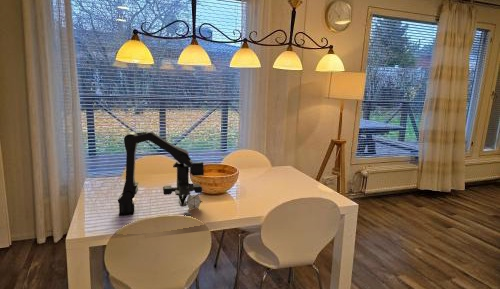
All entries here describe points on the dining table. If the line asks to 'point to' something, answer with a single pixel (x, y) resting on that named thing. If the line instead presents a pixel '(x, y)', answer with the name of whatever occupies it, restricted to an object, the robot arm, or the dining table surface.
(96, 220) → the dining table surface
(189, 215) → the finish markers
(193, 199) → the grey spiked polyhedron
